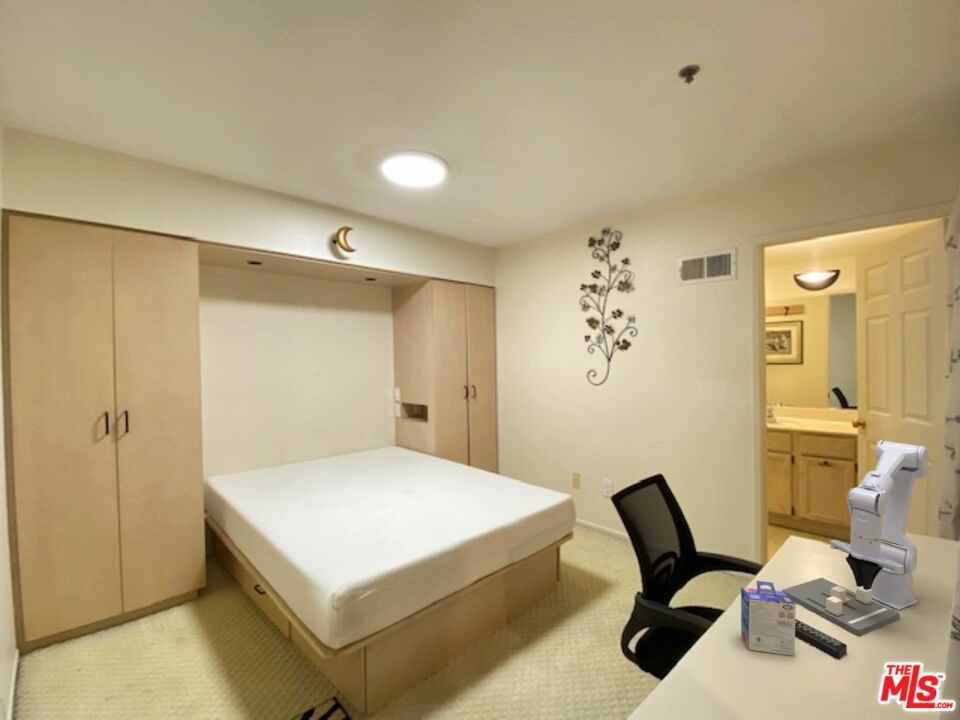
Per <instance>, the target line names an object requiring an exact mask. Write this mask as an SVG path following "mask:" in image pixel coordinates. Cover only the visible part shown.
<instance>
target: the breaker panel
mask: <svg viewBox="0 0 960 720" xmlns="http://www.w3.org/2000/svg"><path fill="white" fill-rule="evenodd" d="M836 586H839V587H841V588H844V589H846V601H848V603H845V604H842V612H844V614H842V615H839V616H836V615H834V614H832V613H830V612H828V611H826V610H824V608H826V598H829V597H831V588H833V587H836ZM781 591H783V592H785V593H786V594H787V595H788V596H789V597H790V598H791V599H792V600H793V601H794V602H795V604H796V605H799V606H801V607H803V608H805V609H806V610H807V611H810V612H812V613H814V614H816V615H818V616H819V617H821V618H823V619H825V620H827V621H828V622H831V623H833V624H834V625H836V626H837V627H840V628H842V629H844V630H846V631H847V632H849V633H851V634H853V635H855V636H856V637H860V636H863V635H865V634H867V633H870V632H873V631H875V630H877V629H880V628H882V627H884V626H886V625H887V626H888V625H889V624H891V623H894V622H896V621H899V620H900V619H901V613H900V612H898V611H895V610H893V609H891V608H889V607H887V606H886V605H884V604H883V605H882V604H880V603H879V602H876V601H875V600H874V601H873V600H872V601H873V602H874V603H871V604H868V605H866V604H864V603H862V602H860V601H858V600H856V599H854V598H855V597H856V591H853V590H850V589H849V588H846V587H843V586H841V585H839V584H838V583H835V582H833V581H830V580H828V579H826V578H824V577H818V578H816V579H812V580H809V581H806V582H803V583H800V584H797V585H794V586H790V587H787V588H784V589H781ZM862 634H863V635H862Z"/></svg>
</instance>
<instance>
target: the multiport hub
mask: <svg viewBox="0 0 960 720" xmlns="http://www.w3.org/2000/svg"><path fill="white" fill-rule="evenodd" d="M795 636H796V637H795V638H797V637H798V638H797V639H799V638H800V639H799V640H800V641H802V640H803V642H804V641H805V643H806V642H807V644H808V643H809V644H808V645H810V646H812V647H814V648H815V647H816V648H815V649H817V650H819V651H821V652H823V653H825V654H827V655H829V656H830V657H832V658H834V659H836V660H840V659H842V658H843V657H844V656H845V655H847V649H848V647H847V646H848V645H847V644H846V643H844V642H842V641H840V640H838V639H836V638H834V637H832V636H830V635H829V634H826V633H824V632H823V631H820V630H818V629H817V628H815V627H812V626H810V625H809V624H807V623H805V622H803V621H800V620H798V619H796V618H795Z"/></svg>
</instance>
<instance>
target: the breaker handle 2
mask: <svg viewBox="0 0 960 720" xmlns="http://www.w3.org/2000/svg"><path fill="white" fill-rule="evenodd" d="M855 593H856V597H855V598H854V599H856V600H858V601H860V602H862V603H864V604H866V605H868V604H871V603H874V602H875V601H874V602H873V600H872V599H873V598H872V590H871V589H869V590H865V589H863V586H862V587H858V586H857V587H856V590H855Z"/></svg>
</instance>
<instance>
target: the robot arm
mask: <svg viewBox="0 0 960 720" xmlns="http://www.w3.org/2000/svg"><path fill="white" fill-rule="evenodd" d="M875 445H876V446H875V452H874V454H875V458H876V460H877V464H876V466H875V470H869V471H868V472H866V474H865V476H864V477H863V478H862V480H861V481H860V483H859V485H858V486H856V487H854V488H853V487H852V488H850V489H849V490H848V492H847V499H846V501H847V507H848V513H849V516H850V543H846V542H842V541H841V540H837V539H833V540H830V547H829V548H831V549H833V550H838V551H841V552H843V553H846V554H848V555H847V556H846V557H845V561H846V562H847V564H848V566H849V567H850V568H849V569H851V572H852V574H853V577H854V580H855V585H856V587H857V588H858V587H862V586H863V589H865V590H869V589H871V590H872V599H873V600H874V601H878V602H880V603H882V604H883V605H885V606H888V607H891V608H892V609H893V608H894V609H895V610H897V611H898V610H899V611H900V610H903V609H905V608H907V607H910V606H912V605H915V604H918V600H917V599H914V577H913V574H914V572H915V571H916V568H917V567H918V566H917V565H918V548H917V546H916V545H915V544H914V543H913V542H912V541H910V539H909V538H907V537H906V531H907V526H908V525H907V524H908V520H909V514H910V513H909V512H910V508H911V503H912V498H913V492H914V486H915V484H916V481H917V479H922V478H925V477H926V474H927V471H928V465H929V459H930V458H929V457H930V455H929V450H928V448H927V447H926V446H925V445H915V444H909V443H900V442H895V441H888V440H887V441H886V440H884V439H880V441H877V443H876V444H875ZM882 517H883V520H882Z"/></svg>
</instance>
